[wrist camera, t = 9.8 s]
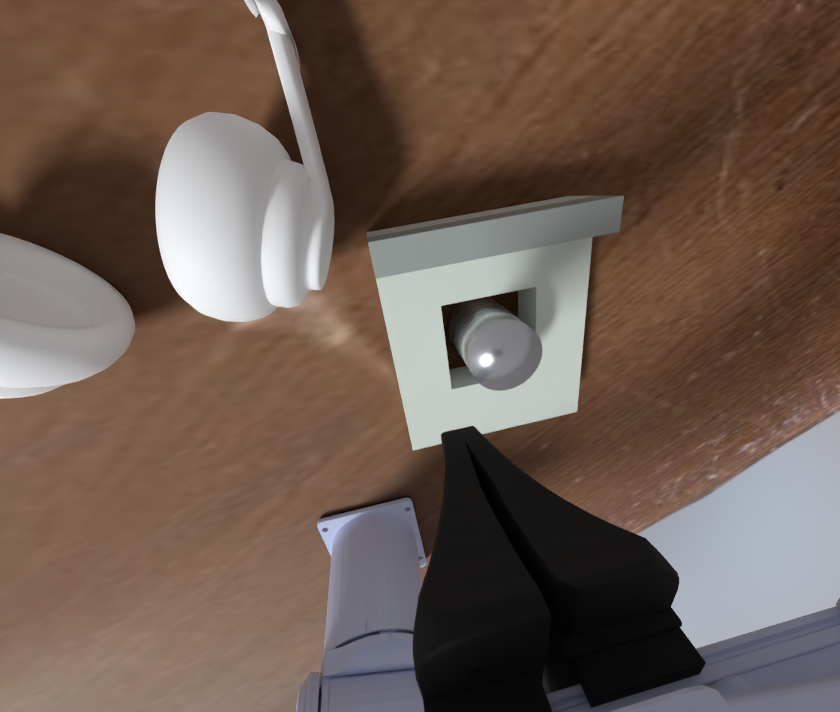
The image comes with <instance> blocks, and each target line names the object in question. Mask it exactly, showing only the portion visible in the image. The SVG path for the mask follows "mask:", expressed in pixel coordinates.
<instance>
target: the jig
mask: <svg viewBox="0 0 840 712" xmlns="http://www.w3.org/2000/svg"><path fill="white" fill-rule="evenodd" d="M623 200H624V196H565V197H560V198H554V199H549V200H543V201H538V202H532V203H526V204H521V205H515V206H510V207H504V208H499V209H493V210H488V211H482V212H477V213H471V214H466V215H460V216H455V217H449V218H443V219H438V220H432V221H427V222H421V223H416V224H410V225H405V226H399V227H394V228H388V229H383V230H377V231H372V232H366V234H367V240H368V245H369V250H370V255H371V259H372V264H373V268H374V273H375V278H376V281H377V286H378V291H379V295H380V300H381V304H382V309H383V314H384V318H385V323H386V328H387V332H388V337H389V341H390V346H391V351H392V355H393V360H394V365H395V369H396V374H397V379H398V383H399V388H400V392H401V397H402V402H403V406H404V411H405V416H406V420H407V425H408V429H409V434H410V439H411V443H412V448H413V450H417V449H421V448H426V447H430V446H434V445H438V444H442V441H441V434H442V433H443V432H447V431H451V430H456V429H460V428H465V427H469V426H474V427H476V429H477V430H478V431H479V432H480V433H481V434H485V433H489V432H493V431H498V430H502V429H506V428H510V427H515V426H519V425H523V424H527V423H532V422H536V421H540V420H544V419H549V418H553V417H557V416H561V415H566V414H570V413H574V412H577V407H578V396H579V385H580V373H581V362H582V351H583V339H584V328H585V317H586V305H587V294H588V283H589V271H590V260H591V249H592V237H596V236H601V235H606V234H611V233H616V232H620V224H621V216H622V208H623ZM513 291H518V318H519V319H520V320H521V321H522V322H524V323H525V324H526V325H528V326H529V327H530V328H532V329H533V330H534V331H535V332H536V333H537V334H538V336H539V338H540V340H541V343H542V358H541V361H540V364H539V366H538V368H537V369H536V371H535V372H534V374H533V375H532V376H531V377H530V378H529V379H528V380H527V381H525V382H524V383H522V384H521V385H519V386H517V387H515V388H512V389H509V390H502V391H496V390H491V389H487V388H485V387H483V386H482V385H480V384H479V383H478V382H477V380H476V379H475V378H474V376H473V375H472V373H471V371H470V370H469V368H468V367H467V366H463V367H458V368H454V369H449V365H448V357H447V349H446V341H445V333H444V326H443V318H442V310H441V306H443V305H448V304H453V303H458V302H463V301H468V300H473V299H478V298H483V297H488V296H493V295H498V294H503V293H508V292H513Z"/></svg>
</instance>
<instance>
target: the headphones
mask: <svg viewBox="0 0 840 712" xmlns="http://www.w3.org/2000/svg"><path fill="white" fill-rule="evenodd" d="M244 1H245V3H246V4H247V6H248V8H249V9H250V11H251V12H252V13H253V15H254V16H255V17H256V18H257V16H258V14H259V12H260V14H261V16H262V19H263V21H264V23H265V26H266V29H267V32H268V36H269V39H270V43H271V47H272V50H273V54H274V58H275V61H276V65H277V68H278V72H279V76H280V79H281V83H282V87H283V90H284V94H285V97H286V101H287V105H288V108H289V112H290V116H291V119H292V123H293V127H294V131H295V134H296V138H297V142H298V145H299V149H300V153H301V157H302V160H303V164H304V165H303V164H300V163H296V162H293V161H291V159H290V157H289V155H288V153H287V151H286V150H285V149H284V147H283V146H282V144H281V143H280V142H279V140H278V139H277V138H276V137H274V136H273V135H272V134H271V133H269V132H268V131H267V130H265V129H264V128H263V127H261V126H260V125H258V124H256V123H254V122H251V121H249V120H247V119H245V118H242V117H240V116H238V115H234V114H226V113H216V112H206V113H203V114H201V115H199V116H196V117H194V118H192V119H190V120H188V121H186V122H184V123H183V124H182V125H181V126H179V127H178V128H177V130H176V131H175V132H174V134H173V135H172V137H171V139H170V140H169V142H168V145H167V147H166V149H165V152H164V155H163V158H162V161H161V165H160V169H159V174H158V180H157V188H156V203H155V214H156V230H157V238H158V244H159V249H160V253H161V257H162V261H163V264H164V267H165V270H166V272H167V275H168V277H169V279H170V281H171V283H172V285H173V287H174V288H175V290H176V291H177V293H178V294H179V295H180V296H181V297H182V298H183V299H184V300H185V301H186V302H187V303H189V304H190V305H191V306H192V307H193V308H195V309H196V310H197V311H199V312H200V313H202V314H204V315H207V316H210V317H213V318H216V319H220V320H223V321H235V322H248V321H252V320H256V319H261V318H263V317H265V316H267V315H268V314H270V313H271V312H273V311H274V310H275V309H276V308H277V307H278V306H279V307H286V308H291V307H295V306H299V305H300V304H301V303H302V302H303V300H304V299H305V298H306V296H307V295H308V293H309V291H310V290H321V289H322V288H323V287H324V284H325V282H326V278H327V274H328V270H329V265H330V259H331V253H332V245H333V236H334V204H333V199H332V195H331V190H330V186H329V182H328V177H327V173H326V169H325V165H324V162H323V158H322V154H321V150H320V146H319V142H318V138H317V134H316V131H315V127H314V123H313V119H312V115H311V111H310V108H309V104H308V100H307V96H306V92H305V89H304V85H303V81H302V77H301V73H300V62H299V56H298V51H297V47H296V44H295V41H294V39H293V36H292V34H291V31H290V29H289V26H288V23H287V21H286V18H285V16H284V13H283V11H282V8H281V6H280V5H279V3H278V2H277V0H244ZM261 236H262V238H261ZM134 332H135V321H134V317H133V314H132V310H131V308H130V306H129V304H128V302H127V301H126V300H125V298H124V297H123V296H122V295H121V294H120V293H119V292H118V291H117V290H116V289H115V288H114V287H113V286H112V285H110V284H109V283H108V282H107V281H105V280H104V279H103V278H101V277H100V276H98V275H97V274H95V273H94V272H92V271H90V270H89V269H87V268H85V267H83V266H82V265H80V264H78V263H76V262H74V261H72V260H70V259H68V258H66V257H64V256H62V255H60V254H58V253H55V252H53V251H51V250H48V249H46V248H43V247H41V246H38V245H36V244H33V243H30V242H27V241H25V240H22V239H19V238H16V237H12V236H9V235H6V234H2V233H0V398H19V397H27V396H32V395H37V394H41V393H45V392H48V391H51V390H53V389H55V388H58V387H60V386H62V385H64V384H68V383H72V382H77V381H80V380H83V379H85V378H88V377H90V376H92V375H94V374H96V373H98V372H101V371H103V370H104V369H106V368H108V367H109V366H111V365H112V364H113V363H114V362H115V361H116V360H117V359H118V358H119V357H121V356H122V355H123V354H124V353H125V351H126V350H127V349H128V347H129V345H130V343H131V340H132V338H133V335H134Z"/></svg>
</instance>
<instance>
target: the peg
mask: <svg viewBox="0 0 840 712" xmlns="http://www.w3.org/2000/svg"><path fill="white" fill-rule="evenodd" d="M448 333H449V337H450V339H451V341H452V343H453V345H454V346H455V348H456V349H457V351H458V352H459V354H460V356H461V357H462V359H463V360H464V362H465V363H466V365H467V367H468V368H469V370H470V371H471V373H472V375H473V376H474V378H475V379H476V380H477V382H478V383H479V384H480V385H482V386H483V387H485V388H487V389H491V390H496V391H502V390H509V389H512V388H515V387H517V386H519V385H521V384H522V383H524V382H525V381H527V380H528V379H529V378H530V377H531V376H532V375H533V374H534V372H535V371H536V369H537V368H538V366H539V364H540V361H541V358H542V343H541V340H540V338H539V336H538V334H537V333H536V332H535V331H534V330H533V329H532V328H530V327H529V326H528V325H526V324H525V323H524V322H522V321H521V320H520V319H519V318H517V317H516V316H515V315H513V314H512V313H511V312H509V311H508V310H507V309H506V308H504V307H503V306H502V305H500V304H499V303H498V302H496V301H495V300H493V299H491V298H488V297H483V298H478V299H473V300H468V301H464V302H462V303H461V304H460V305H459V306H458V307H457V308H456V309H455V310H454V312H453V313H452V315H451V317H450V320H449V324H448Z"/></svg>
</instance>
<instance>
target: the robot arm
mask: <svg viewBox="0 0 840 712" xmlns="http://www.w3.org/2000/svg"><path fill="white" fill-rule="evenodd" d="M441 441H442V448H443V455H444V462H445V482H444V494H443V502H442V509H441V516H440V521H439V526H438V531H437V536H436V540H435V544H434V548H433V551H432V555H431V559H430V563H429V566H428V569H427V573H426V575H425V578H424V581H423V582H422V575H421V569H420V568H421V567H424V566H425V565H426V564H427V562H426V557H425V553H424V549H423V545H422V540H421V536H420V532H419V528H418V524H417V520H416V515H415V511H414V507H413V503H412V500H411V499H410V498H403V499H398V500H394V501H390V502H386V503H382V504H378V505H374V506H370V507H366V508H362V509H358V510H354V511H350V512H346V513H342V514H338V515H334V516H330V517H326V518H322V519H320V520H319V521H318V523H317V527H318V529H319V531H320V534H321V536H322V538H323V540H324V542H325V544H326V547H327V549H328V551H329V553H330V555H331V569H330V581H329V593H328V606H327V618H326V631H325V643H324V656H323V661H322V666H321V672H320V677H319V672H311V673H310V674H309V675H308V678H307V680H305V681H304V683H303V684H302V685H301V686H300V688H299V693H298V700H297V707H296V712H840V599H839V600H838V602H837V603H836V607H833V608H829V609H826V610H823V611H819V612H816V613H813V614H809V615H806V616H803V617H800V618H796V619H793V620H790V621H787V622H783V623H780V624H777V625H773V626H770V627H766V628H763V629H760V630H756V631H754V632H750V633H747V634H743V635H740V636H737V637H734V638H730V639H727V640H724V641H720V642H717V643H714V644H710V645H707V646H704V647H700V648H697V649H695V647H694V646H693V645H692V643H691V642H690V640H689V639H688V638H687V637H686V635H685V634H684V633H683V631H682V630H681V629H680V627H681V626H682V622H681V620H680V619H679V617H678V616H677V615H676V613H675V612H674V611H673V609H672V608H671V605H672V602H673V600H674V597H675V595H676V592H677V590H678V585H679V577H678V574H677V572H676V571H675V570H674V568H673V567H672V566H671V565H670V564H669V563H668V561H667V560H666V559H665V558H664V557H663V556H662V555H661V553H660V552H658V550H657V549H656V548H655V547H654V546H653V545H651V543H650V542H649V541H648V540H647V539H646V538H643V537H641V536H639V535H636V534H634V533H632V532H629V531H627V530H624V529H622V528H620V527H617V526H615V525H613V524H610V523H608V522H606V521H604V520H602V519H600V518H598V517H596V516H594V515H592V514H590V513H588V512H586V511H584V510H582V509H581V508H579V507H577V506H575V505H573V504H572V503H570V502H568V501H566V500H564V499H563V498H561V497H559V496H558V495H556V494H555V493H553V492H552V491H550V490H548V489H547V488H545V487H544V486H543V485H541V484H540V483H538V482H537V481H535V480H534V479H533V478H531V477H530V476H529V475H527V474H526V473H525V472H523V471H522V470H521V469H520V468H518V467H517V466H516V465H515V464H513V463H512V462H511V461H510V460H509V459H508V458H506V457H505V456H504V455H503V454H502V453H501V452H500V451H499V450H497V449H496V448H495V447H494V446H493V445H492V444H491V443H490V442H489V441H488V440H487V439H486V438H485V437H484V436H483V435H482V434H481V433H480V432H479V431H478V430H477V429H476V427H474V426H469V427H465V428H460V429H456V430H451V431H447V432H443V433H442V434H441ZM406 507H407V508H406Z"/></svg>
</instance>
